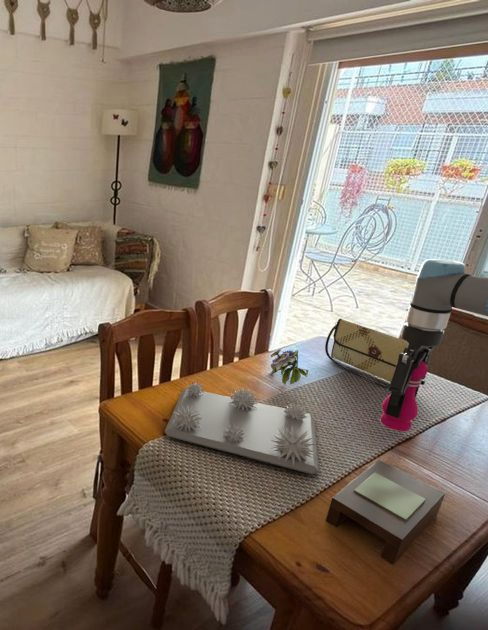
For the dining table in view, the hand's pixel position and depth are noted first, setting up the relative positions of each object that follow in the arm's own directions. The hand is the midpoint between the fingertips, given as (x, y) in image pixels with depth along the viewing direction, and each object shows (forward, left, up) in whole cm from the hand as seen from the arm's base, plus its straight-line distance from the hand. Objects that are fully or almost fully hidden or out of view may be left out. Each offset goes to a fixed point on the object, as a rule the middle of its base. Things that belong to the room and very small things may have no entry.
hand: (399, 410), depth 110 cm
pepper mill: (0, 0, -4) cm, 4 cm away
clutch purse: (+19, -31, -9) cm, 38 cm away
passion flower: (+33, -8, -9) cm, 35 cm away
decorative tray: (+23, +30, -9) cm, 39 cm away
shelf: (-11, +31, -8) cm, 34 cm away
